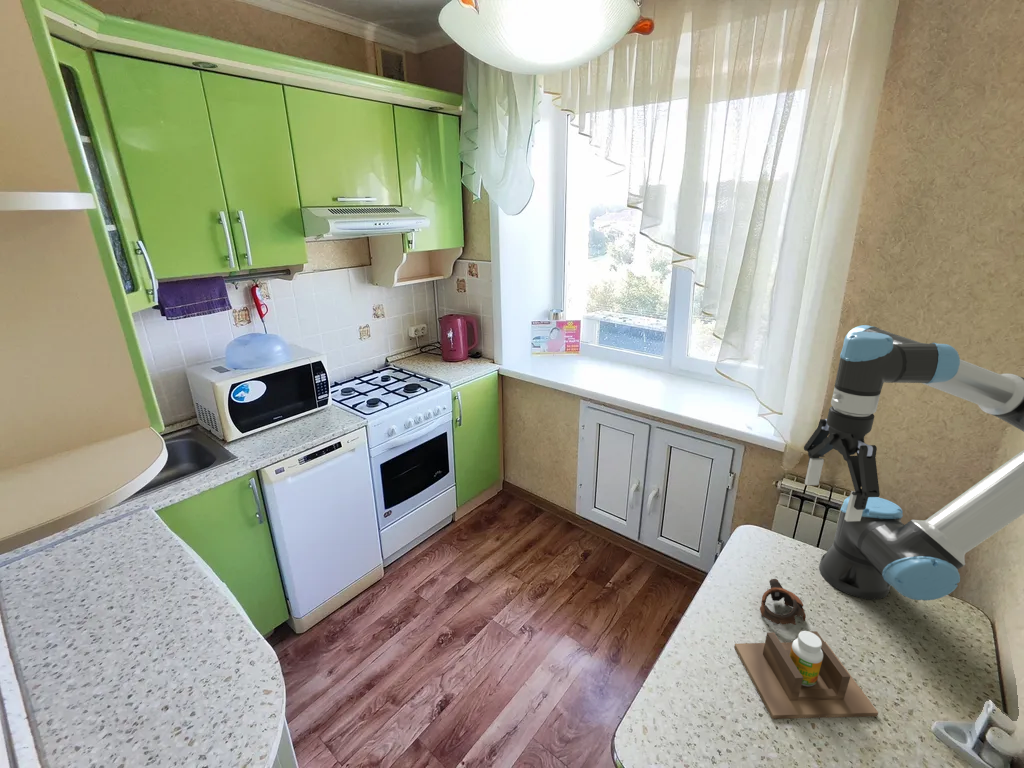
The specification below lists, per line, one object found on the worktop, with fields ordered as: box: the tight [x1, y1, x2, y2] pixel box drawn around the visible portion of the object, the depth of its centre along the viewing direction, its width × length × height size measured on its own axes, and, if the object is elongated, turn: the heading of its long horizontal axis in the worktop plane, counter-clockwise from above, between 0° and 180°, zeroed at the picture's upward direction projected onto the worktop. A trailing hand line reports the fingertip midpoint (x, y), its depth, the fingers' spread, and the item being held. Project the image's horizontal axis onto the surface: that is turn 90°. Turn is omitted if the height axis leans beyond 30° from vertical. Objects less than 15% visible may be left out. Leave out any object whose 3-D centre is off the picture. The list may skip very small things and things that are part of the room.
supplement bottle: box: [790, 630, 823, 687], centre depth 96 cm, size 5×5×10 cm
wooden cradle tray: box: [733, 630, 879, 720], centre depth 97 cm, size 20×16×7 cm
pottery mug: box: [759, 578, 807, 626], centre depth 114 cm, size 12×10×8 cm
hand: (830, 501), depth 103 cm, fingers open, 13 cm apart
